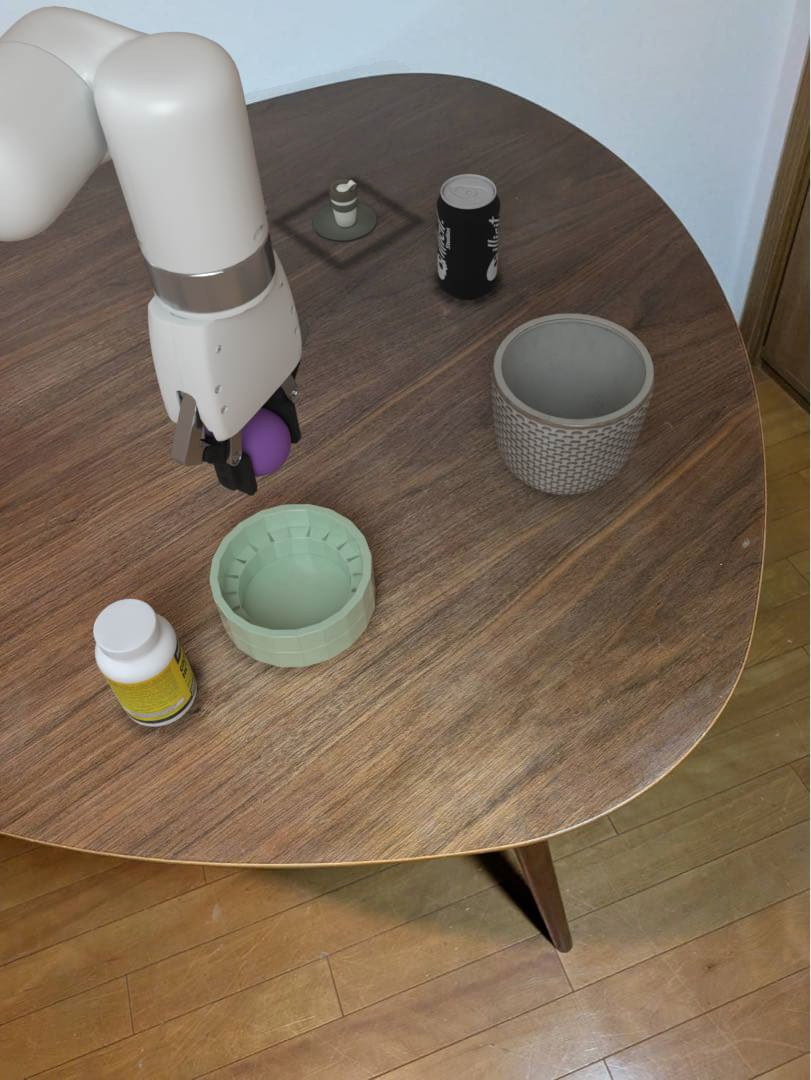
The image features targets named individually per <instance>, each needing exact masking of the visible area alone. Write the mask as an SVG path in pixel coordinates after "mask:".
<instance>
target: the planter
mask: <svg viewBox="0 0 811 1080" xmlns="http://www.w3.org/2000/svg"><path fill="white" fill-rule="evenodd" d="M655 383H656V369H655V364H654V359H653V357H652V355H651V353H650V351H649V349H648V348H647V347H646V345H645V344H644V343H643V342H642V340H641V339H639V338H638V337H637V336H636V335H635V333H633V332H631V331H630V330H628V329H627V328H626V327H623V326H621V325H619V324H617V323H616V322H613V321H611V320H608V319H605V318H603V317H598V316H595V315H591V314H583V313H555V314H550V315H544V316H541V317H536V318H534V319H531V320H528V321H526V322H524V323H522V324H520V325H519V326H517V327H515V328H514V329H513V330H511V331H510V332H509V333H508V334H506V335H505V337H504V338H503V339H502V340H501V341H500V343H499V344H498V347H497V348H496V350H495V352H494V355H493V359H492V363H491V371H490V394H491V413H492V422H493V431H494V436H495V442H496V445H497V446H496V447H497V449H498V453H499V455H500V457H501V459H502V462H503V463H504V465H505V466H506V467H507V469H508V470H509V472H511V474H512V475H513V476H514V477H516V479H518V480H519V481H521V482H522V483H524V484H525V485H527V486H528V487H530V488H532V489H535V490H537V491H539V492H543V493H546V494H550V495H555V496H574V495H581V494H586V493H589V492H592V491H595V490H598V489H600V488H602V487H604V486H606V485H607V484H608V483H610V482H611V481H612V480H614V478H616V477H617V476H618V475H619V474H620V473H621V472H622V470H623V469H624V467H625V466H626V464H627V463H628V461H629V460H630V458H631V456H632V453H633V451H634V450H635V447H636V444H637V442H638V439H639V436H640V433H641V431H642V429H643V426H644V424H645V420H646V416H647V413H648V410H649V408H650V404H651V402H652V397H653V394H654V389H655Z"/></svg>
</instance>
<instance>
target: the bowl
mask: <svg viewBox="0 0 811 1080" xmlns="http://www.w3.org/2000/svg"><path fill="white" fill-rule="evenodd" d="M374 572H375V571H374V564H373V556H372V553H371V550H370V547H369V545H368V542H367V539H366V536H365V535H364V534H363V533H362V532H361V530H360V529H359V528H358V527H357V526H356V525H355V523H353V521H352V520H350V519H349V518H347V517H345V516H344V515H342V514H340V513H338V512H337V511H335V510H333V509H331V508H328V507H323V506H319V505H314V504H312V503H292V504H291V503H290V504H289V503H288V504H280V505H276V506H273V507H270V508H265V509H262V510H259V511H258V512H256V513H254V514H252V515H251V516H249V517H247V518H246V519H244V520H242V521H240V522H238V523H237V525H235V527H234V528H233V529H232V530H231V531H229V532H228V533H227V534H226V535H225V536H224V537H223V539H222V540H221V541H220V544H219V546H218V547H217V549H216V551H215V553H214V555H213V557H212V559H211V565H210V572H209V577H208V578H209V584H210V589H211V592H212V593H211V594H212V597H213V601H214V603H215V606H216V609H217V612H218V614H219V617H220V620H221V622H222V626H223V628H224V630H225V632H226V634H227V635H228V636H229V638H230V639H231V641H232V642H233V643H234V645H235V646H236V648H238V649H239V650H240V651H242V652H243V653H244V654H246V655H247V656H248V657H251V658H252V659H253V660H255V661H257V662H260V663H264V664H267V665H271V666H274V667H278V668H306V667H309V666H313V665H317V664H320V663H323V662H326V661H330V660H332V659H333V658H334V657H337V656H338V655H340V654H341V653H343V652H344V651H346V650H347V649H349V648H350V647H352V646H353V645H354V643H355V642H356V641H357V640H358V639H359V638H360V637H361V636H362V634H363V633H364V632H365V631H366V630H367V628H368V626H369V624H370V621H371V619H372V616H373V614H374V611H375V609H376V608H375V607H376V590H377V589H376V581H375V573H374Z"/></svg>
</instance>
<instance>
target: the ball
mask: <svg viewBox="0 0 811 1080" xmlns="http://www.w3.org/2000/svg"><path fill="white" fill-rule="evenodd" d="M224 441H225V440H224ZM291 449H292V443H291V436H290V432H289V429H288V427H287V425H286V424H285V422H284V421H283V420H282V419H281V418H280V417H279V416H278V415H277V414H275V413H274V412H272V411H270V410H267V409H264V408H260V409H259V410H258V411H257V413H256V414H255V415H254V416H253V417H252V418H251V419H250V420H249V421H248V422H247V424H246V425H245V426H244V427H243V428H242V452H244V453H246V454H248V455H249V457H250V459H251V463H252V467H253V471H254V475H255V477H263V476H264V477H265V476H268V475H271V474H273V473H275V472H277V471H278V470H279V469H281V467H283V466H284V464H285V463H286V461H287V460H288V458H289V456H290V452H291Z"/></svg>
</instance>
